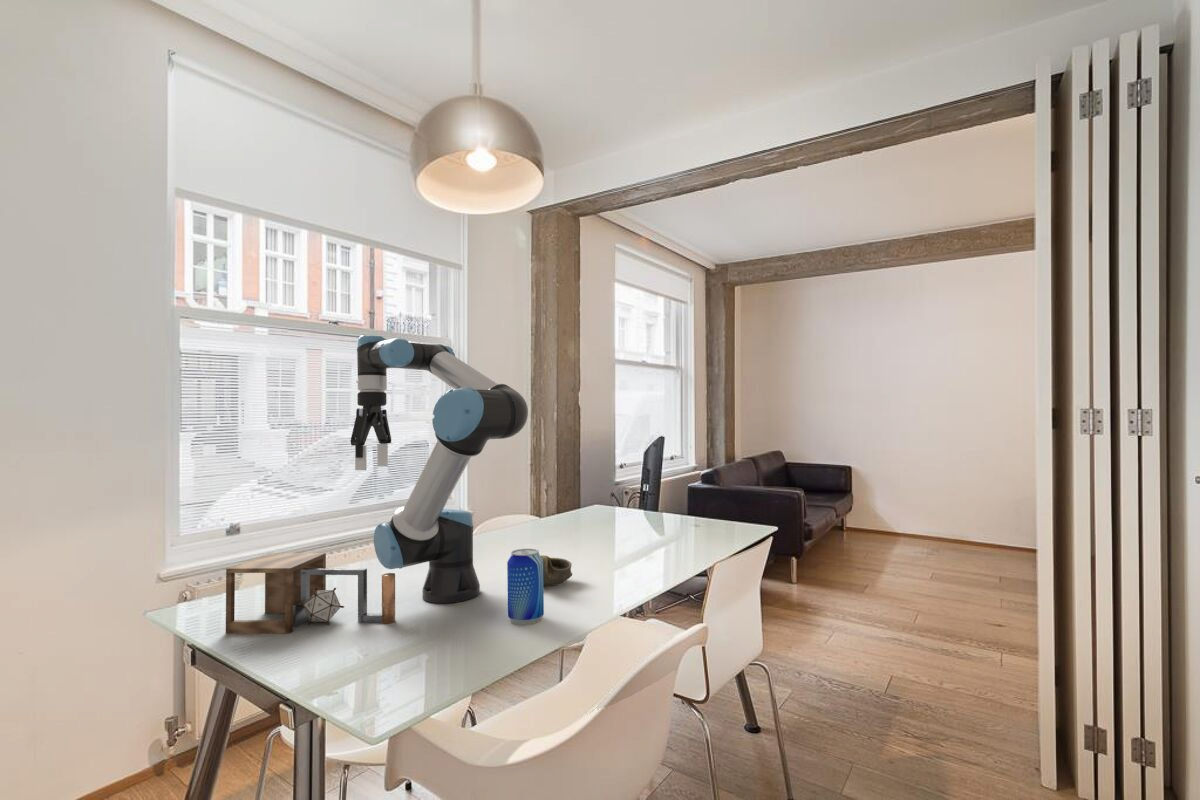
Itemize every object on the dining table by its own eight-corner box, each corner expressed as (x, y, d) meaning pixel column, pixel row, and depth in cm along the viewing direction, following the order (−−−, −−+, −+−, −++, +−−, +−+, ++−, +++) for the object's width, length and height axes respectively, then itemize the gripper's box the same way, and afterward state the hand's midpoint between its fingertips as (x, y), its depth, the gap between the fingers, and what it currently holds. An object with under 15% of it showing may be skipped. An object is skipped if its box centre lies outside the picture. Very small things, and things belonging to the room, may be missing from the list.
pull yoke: (404, 614, 142) (403, 564, 142) (384, 629, 132) (384, 575, 133) (314, 613, 144) (314, 563, 145) (288, 627, 134) (288, 574, 135)
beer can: (549, 616, 139) (548, 548, 140) (534, 627, 131) (533, 556, 132) (518, 612, 142) (517, 546, 143) (501, 624, 134) (500, 554, 135)
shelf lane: (325, 611, 146) (325, 553, 146) (290, 633, 130) (290, 568, 131) (267, 611, 147) (268, 553, 147) (225, 633, 131) (226, 568, 132)
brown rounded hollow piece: (575, 577, 174) (574, 544, 174) (566, 595, 156) (565, 557, 157) (530, 577, 175) (529, 544, 175) (516, 594, 157) (516, 557, 158)
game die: (320, 641, 135) (304, 615, 130) (303, 622, 140) (287, 596, 134) (355, 614, 141) (341, 588, 135) (337, 596, 145) (323, 570, 140)
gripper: (378, 394, 174) (378, 465, 173) (336, 389, 149) (336, 472, 148) (402, 393, 173) (403, 464, 173) (364, 388, 149) (365, 471, 148)
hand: (372, 468), depth 160 cm, fingers open, 13 cm apart
